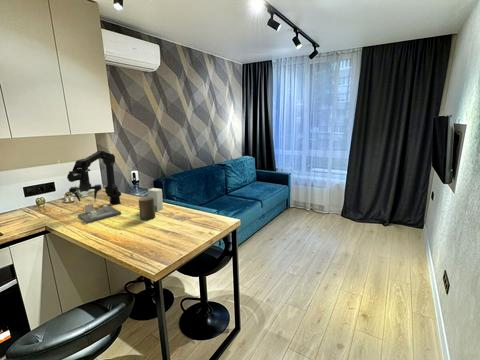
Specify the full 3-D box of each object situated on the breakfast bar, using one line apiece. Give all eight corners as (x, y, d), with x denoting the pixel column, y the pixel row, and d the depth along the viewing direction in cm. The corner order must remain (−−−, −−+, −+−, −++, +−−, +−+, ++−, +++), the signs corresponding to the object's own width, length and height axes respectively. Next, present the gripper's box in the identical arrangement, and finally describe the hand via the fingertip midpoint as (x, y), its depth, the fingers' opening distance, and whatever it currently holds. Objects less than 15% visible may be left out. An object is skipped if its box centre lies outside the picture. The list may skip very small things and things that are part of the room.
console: (110, 208, 195) (110, 206, 194) (121, 214, 183) (120, 211, 182) (77, 217, 179) (77, 214, 179) (86, 223, 167) (86, 220, 167)
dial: (89, 210, 185) (88, 203, 183) (93, 210, 185) (92, 203, 184) (85, 213, 179) (84, 206, 178) (89, 213, 179) (88, 206, 178)
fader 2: (106, 209, 187) (106, 204, 186) (108, 210, 185) (107, 205, 184) (103, 210, 185) (102, 205, 184) (105, 211, 183) (104, 206, 182)
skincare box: (148, 210, 190) (146, 189, 186) (154, 207, 196) (152, 187, 192) (158, 211, 187) (156, 191, 183) (163, 208, 193) (162, 188, 189)
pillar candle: (155, 219, 173) (153, 197, 170) (139, 221, 170) (137, 199, 167) (155, 214, 182) (153, 193, 179) (140, 216, 179) (138, 195, 176)
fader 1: (95, 215, 175) (94, 210, 174) (97, 216, 173) (96, 211, 172) (91, 216, 173) (90, 211, 172) (93, 217, 171) (92, 212, 170)
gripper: (65, 182, 165) (69, 205, 169) (98, 179, 172) (101, 202, 176) (69, 179, 175) (72, 201, 179) (100, 176, 182) (103, 197, 186)
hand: (87, 200), depth 180 cm, fingers open, 9 cm apart
